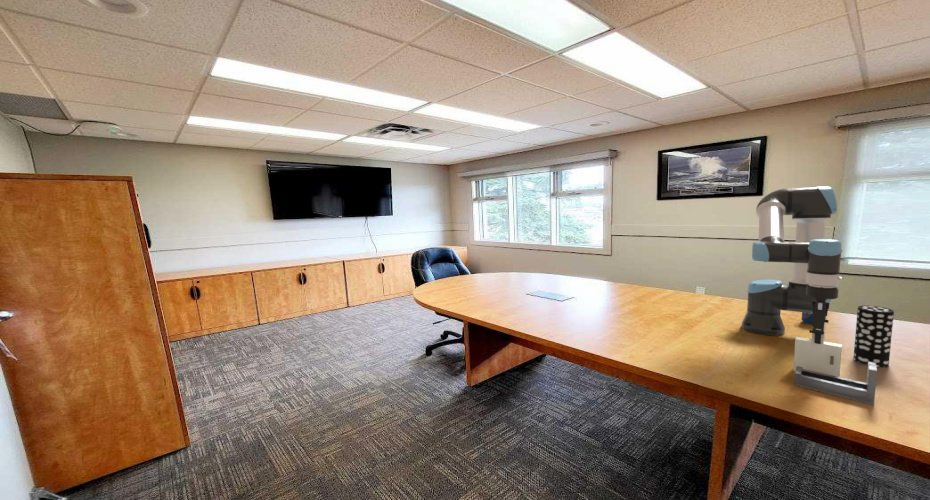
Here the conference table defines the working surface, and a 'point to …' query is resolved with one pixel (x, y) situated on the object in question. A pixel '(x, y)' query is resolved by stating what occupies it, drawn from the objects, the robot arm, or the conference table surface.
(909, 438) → the conference table surface
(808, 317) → the soda can
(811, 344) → the robot arm
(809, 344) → the door panel
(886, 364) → the white-spotted black cylinder
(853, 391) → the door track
